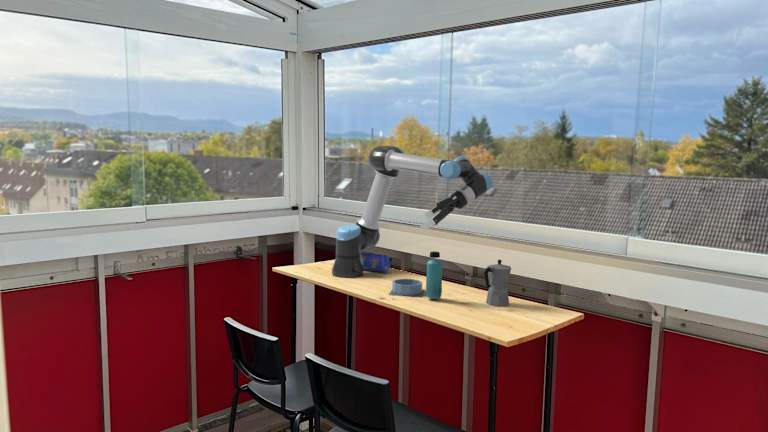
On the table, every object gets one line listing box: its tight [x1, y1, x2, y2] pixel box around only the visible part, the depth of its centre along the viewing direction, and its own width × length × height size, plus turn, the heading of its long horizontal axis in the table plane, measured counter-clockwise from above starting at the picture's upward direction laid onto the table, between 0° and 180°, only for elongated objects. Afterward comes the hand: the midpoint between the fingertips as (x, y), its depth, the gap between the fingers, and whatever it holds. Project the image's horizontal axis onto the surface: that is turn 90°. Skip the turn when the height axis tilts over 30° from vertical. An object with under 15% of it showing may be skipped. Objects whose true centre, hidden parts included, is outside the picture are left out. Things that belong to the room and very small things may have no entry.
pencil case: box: [360, 252, 393, 274], centre depth 287 cm, size 22×9×10 cm, turn 60°
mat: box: [388, 288, 426, 298], centre depth 244 cm, size 14×14×1 cm
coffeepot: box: [483, 259, 512, 308], centre depth 229 cm, size 15×9×18 cm, turn 129°
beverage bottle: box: [425, 251, 443, 300], centre depth 232 cm, size 6×7×20 cm
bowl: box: [391, 278, 423, 297], centre depth 244 cm, size 12×12×4 cm
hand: (423, 223), depth 244 cm, fingers open, 13 cm apart
